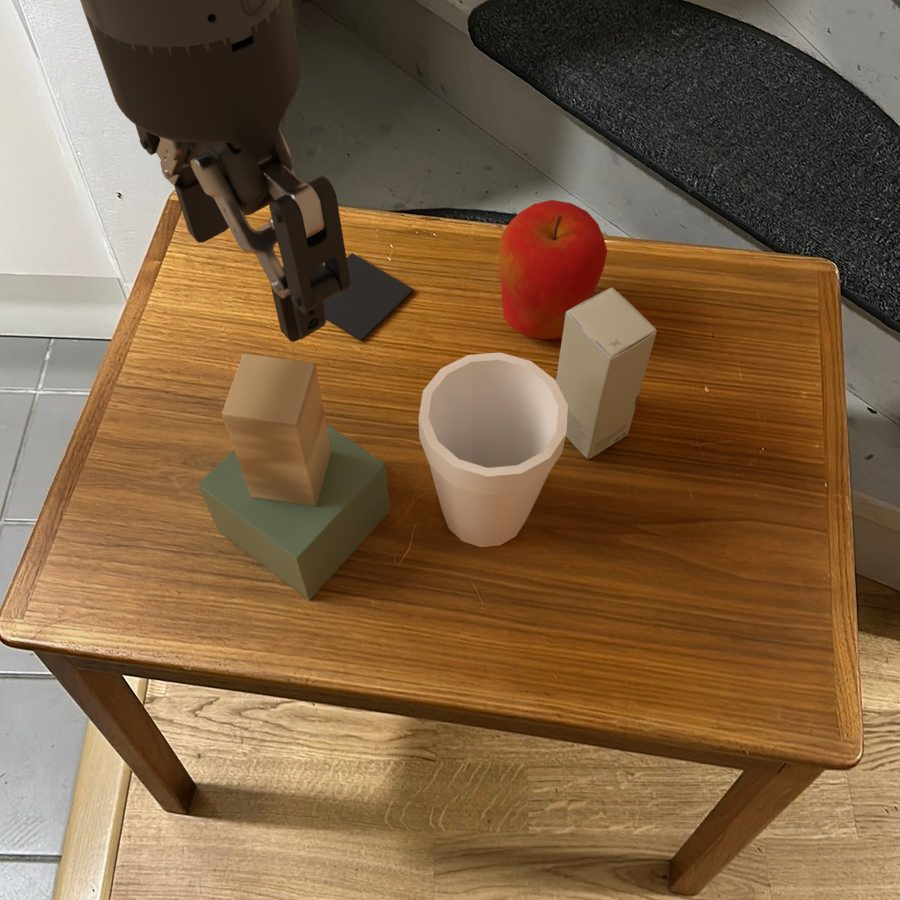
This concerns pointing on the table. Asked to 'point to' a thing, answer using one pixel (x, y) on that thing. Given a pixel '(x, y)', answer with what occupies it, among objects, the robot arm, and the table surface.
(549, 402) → the foam cup
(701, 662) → the table surface
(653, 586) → the table surface
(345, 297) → the mat
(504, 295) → the apple
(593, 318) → the box
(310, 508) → the stand
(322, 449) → the block
